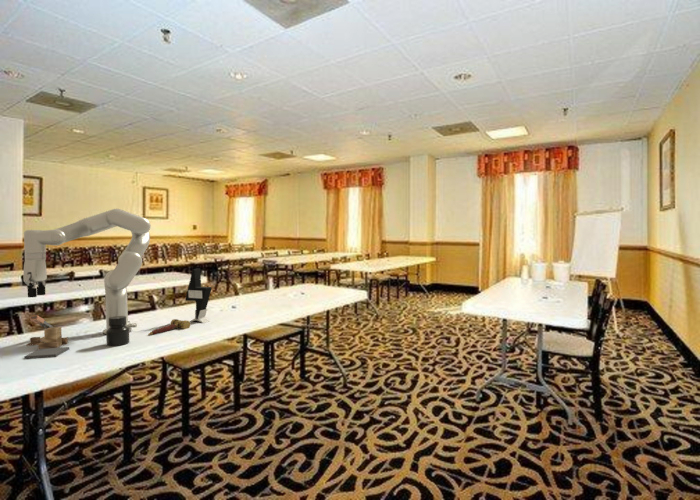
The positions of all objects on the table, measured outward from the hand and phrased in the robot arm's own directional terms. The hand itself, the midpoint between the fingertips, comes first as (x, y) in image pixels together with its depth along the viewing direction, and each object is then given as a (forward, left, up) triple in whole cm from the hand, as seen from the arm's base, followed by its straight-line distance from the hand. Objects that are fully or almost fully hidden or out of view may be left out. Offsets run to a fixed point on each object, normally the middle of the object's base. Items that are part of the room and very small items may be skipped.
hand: (36, 295), depth 179 cm
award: (-65, -30, -22) cm, 75 cm away
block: (-10, +8, -22) cm, 25 cm away
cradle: (-10, +8, -22) cm, 25 cm away
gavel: (-53, -9, -22) cm, 58 cm away
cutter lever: (0, -3, -14) cm, 14 cm away
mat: (-14, +21, -22) cm, 34 cm away
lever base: (0, -5, -22) cm, 22 cm away
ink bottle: (-37, +11, -22) cm, 44 cm away
